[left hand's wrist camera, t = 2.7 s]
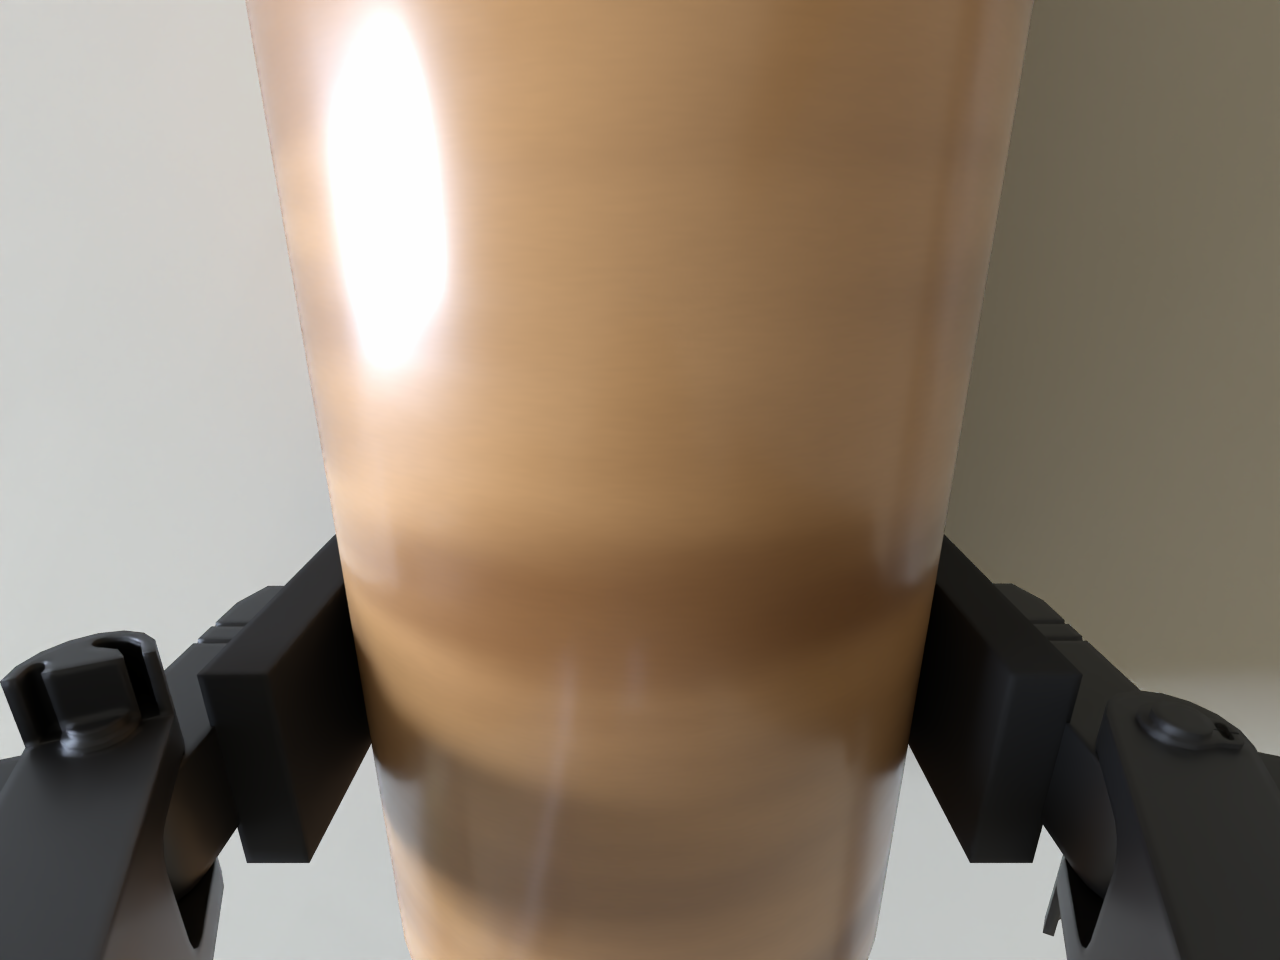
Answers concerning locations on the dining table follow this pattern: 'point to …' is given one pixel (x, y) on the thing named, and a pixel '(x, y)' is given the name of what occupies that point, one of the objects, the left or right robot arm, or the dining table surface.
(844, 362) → the brown cylinder
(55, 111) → the dining table surface
